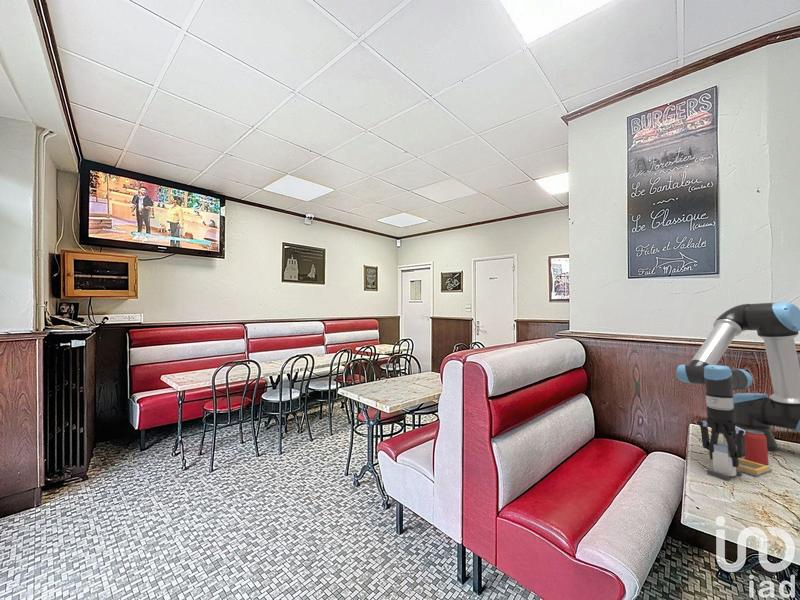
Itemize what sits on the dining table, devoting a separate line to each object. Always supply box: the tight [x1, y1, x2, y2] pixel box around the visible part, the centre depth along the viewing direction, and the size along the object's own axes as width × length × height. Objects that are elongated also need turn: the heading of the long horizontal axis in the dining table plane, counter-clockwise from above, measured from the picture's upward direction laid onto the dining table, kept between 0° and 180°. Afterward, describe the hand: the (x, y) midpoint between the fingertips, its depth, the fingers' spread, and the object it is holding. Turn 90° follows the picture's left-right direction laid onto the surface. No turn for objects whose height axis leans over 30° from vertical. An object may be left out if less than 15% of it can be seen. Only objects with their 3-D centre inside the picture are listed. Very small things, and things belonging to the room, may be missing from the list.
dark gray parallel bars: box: [706, 469, 743, 482], centre depth 125 cm, size 10×6×2 cm, turn 113°
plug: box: [714, 442, 731, 477], centre depth 126 cm, size 4×4×10 cm
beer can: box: [744, 429, 769, 466], centre depth 137 cm, size 7×7×12 cm
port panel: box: [736, 458, 772, 478], centre depth 131 cm, size 12×11×2 cm
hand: (724, 472), depth 125 cm, fingers closed on plug, 4 cm apart
